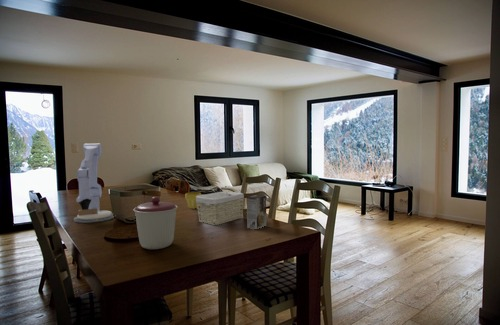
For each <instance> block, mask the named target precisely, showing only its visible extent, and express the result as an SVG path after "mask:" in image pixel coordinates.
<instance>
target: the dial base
mask: <svg viewBox="0 0 500 325" xmlns="http://www.w3.org/2000/svg"><path fill="white" fill-rule="evenodd" d="M113 214H114V213H112V215H111V216H110V217H107V218H102V219H95V220H80V219H78V217H77V216H75V217H73V222H74V223H76V224H95V223H103V222H108V221H111V220H113V219H115V218H114V216H113Z"/></svg>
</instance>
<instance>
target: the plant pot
mask: <svg viewBox="0 0 500 325" xmlns="http://www.w3.org/2000/svg"><path fill="white" fill-rule="evenodd" d="M199 195H202V193H201V192H186V193H185V194H184V196H185V200H186V204H187V207H188V209H190V210H191V209H193V210H195V208H196V209H197V203H196V196H199Z"/></svg>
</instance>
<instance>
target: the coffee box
mask: <svg viewBox="0 0 500 325" xmlns="http://www.w3.org/2000/svg"><path fill="white" fill-rule="evenodd" d="M264 226H265V227H267V195H262V194H254V195H249V196H247V197H246V228H247V229H249V228H250V229H251V230H254V229H258V230H260V229H262V227H263V228H264ZM259 228H260V229H259Z"/></svg>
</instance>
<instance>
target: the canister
mask: <svg viewBox="0 0 500 325" xmlns="http://www.w3.org/2000/svg"><path fill="white" fill-rule="evenodd" d="M150 201H151V202H145V203H142V204H140V205H138V206H137V207H135V208H134V209H133V211H134V212H135V216H136V220H135V222H136V228H137V234H138V236H137V237H138V240H139V245H141V247H142V248H143V249H146V250H159V249H160V250H161V249H165V248H167V247H169V246H171V245H172V244H173V241H174V237H175V228H176V215H177V209H178V208H179V207H178V205H176V204H175V203H174V202H169V201H161V199H160V197H159V196H153V197H151V199H150Z"/></svg>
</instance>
